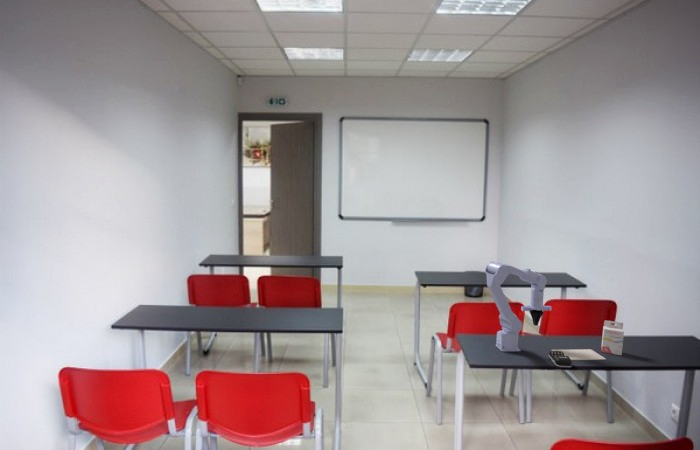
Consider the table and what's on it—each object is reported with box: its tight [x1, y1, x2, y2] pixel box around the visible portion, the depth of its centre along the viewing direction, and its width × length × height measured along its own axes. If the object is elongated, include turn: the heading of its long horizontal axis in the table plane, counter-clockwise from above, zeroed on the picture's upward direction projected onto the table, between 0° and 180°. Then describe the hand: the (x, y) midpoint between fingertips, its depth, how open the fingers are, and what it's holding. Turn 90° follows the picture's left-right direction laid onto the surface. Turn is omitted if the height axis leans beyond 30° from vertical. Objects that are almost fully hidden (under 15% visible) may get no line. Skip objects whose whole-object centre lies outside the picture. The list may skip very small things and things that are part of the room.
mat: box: [550, 348, 607, 361], centre depth 226 cm, size 20×12×1 cm, turn 95°
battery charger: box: [548, 350, 573, 369], centre depth 216 cm, size 7×4×11 cm
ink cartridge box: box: [600, 319, 625, 356], centre depth 230 cm, size 9×5×15 cm, turn 65°
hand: (535, 324), depth 237 cm, fingers closed
